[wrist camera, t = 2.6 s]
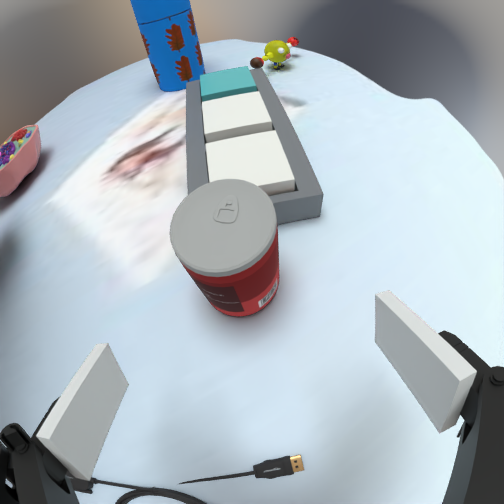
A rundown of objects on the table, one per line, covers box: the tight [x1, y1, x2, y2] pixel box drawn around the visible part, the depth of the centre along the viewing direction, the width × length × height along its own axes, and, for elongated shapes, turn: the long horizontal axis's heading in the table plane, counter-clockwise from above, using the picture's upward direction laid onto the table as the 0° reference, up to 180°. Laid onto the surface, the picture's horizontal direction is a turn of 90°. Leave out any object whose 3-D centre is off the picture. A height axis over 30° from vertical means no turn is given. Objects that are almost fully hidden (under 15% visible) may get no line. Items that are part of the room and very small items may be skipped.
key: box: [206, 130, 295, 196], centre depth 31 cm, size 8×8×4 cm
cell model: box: [0, 125, 41, 197], centre depth 40 cm, size 17×20×11 cm
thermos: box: [130, 0, 205, 92], centre depth 42 cm, size 11×11×25 cm
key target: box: [200, 66, 257, 102], centre depth 42 cm, size 8×8×4 cm
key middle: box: [202, 91, 272, 143], centre depth 37 cm, size 8×8×4 cm
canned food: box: [170, 179, 279, 316], centre depth 24 cm, size 8×8×11 cm
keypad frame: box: [186, 68, 323, 225], centre depth 38 cm, size 14×32×4 cm, turn 10°
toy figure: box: [250, 37, 299, 69], centre depth 48 cm, size 18×6×7 cm, turn 147°
